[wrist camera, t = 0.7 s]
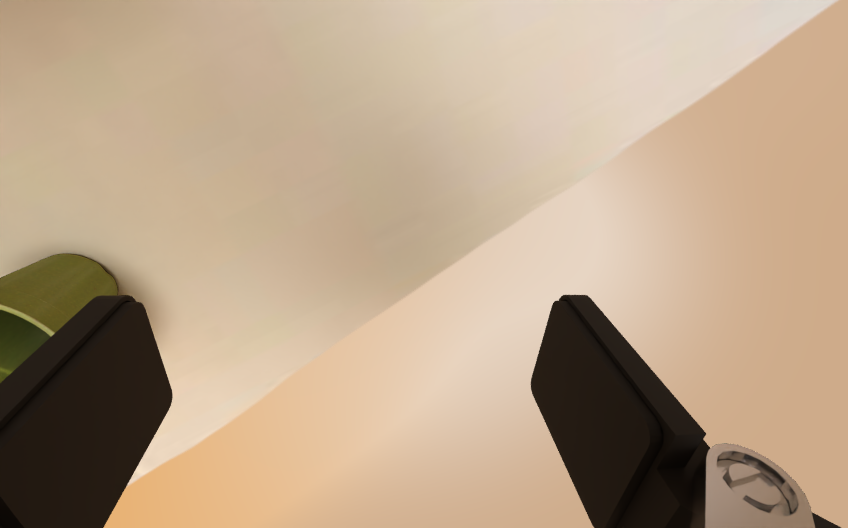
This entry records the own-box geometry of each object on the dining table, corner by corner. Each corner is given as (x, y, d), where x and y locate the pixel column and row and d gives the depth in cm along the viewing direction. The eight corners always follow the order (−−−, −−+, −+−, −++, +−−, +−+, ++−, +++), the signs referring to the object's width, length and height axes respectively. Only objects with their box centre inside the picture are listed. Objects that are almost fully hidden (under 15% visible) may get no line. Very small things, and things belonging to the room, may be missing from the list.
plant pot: (-16, 238, 38) (-150, 307, 28) (114, 226, 39) (28, 289, 29) (48, 333, 44) (-43, 418, 34) (160, 321, 45) (102, 400, 35)
